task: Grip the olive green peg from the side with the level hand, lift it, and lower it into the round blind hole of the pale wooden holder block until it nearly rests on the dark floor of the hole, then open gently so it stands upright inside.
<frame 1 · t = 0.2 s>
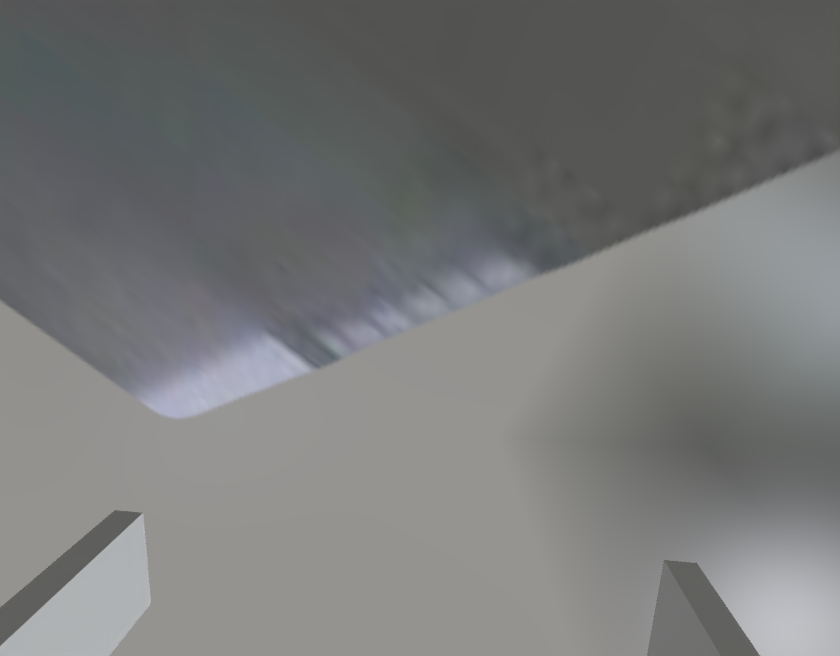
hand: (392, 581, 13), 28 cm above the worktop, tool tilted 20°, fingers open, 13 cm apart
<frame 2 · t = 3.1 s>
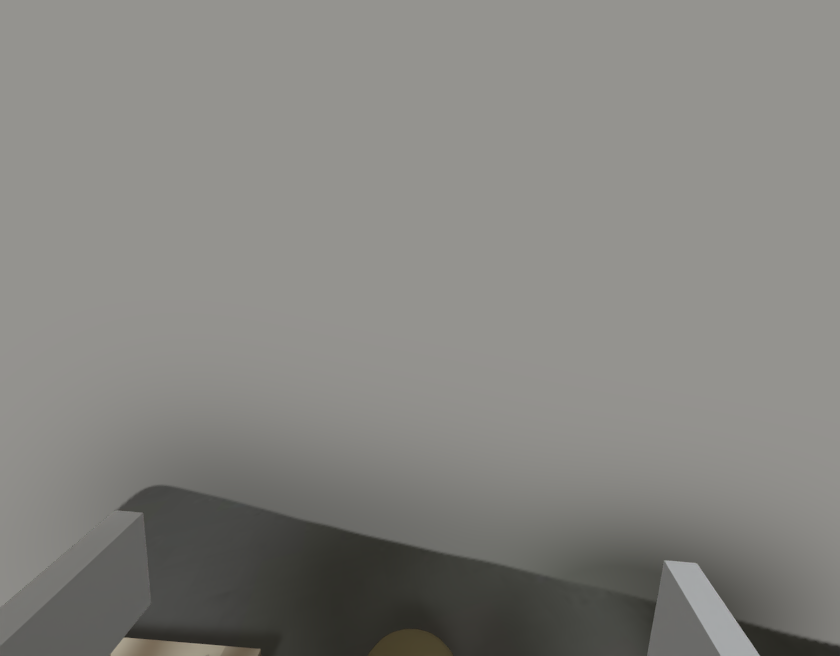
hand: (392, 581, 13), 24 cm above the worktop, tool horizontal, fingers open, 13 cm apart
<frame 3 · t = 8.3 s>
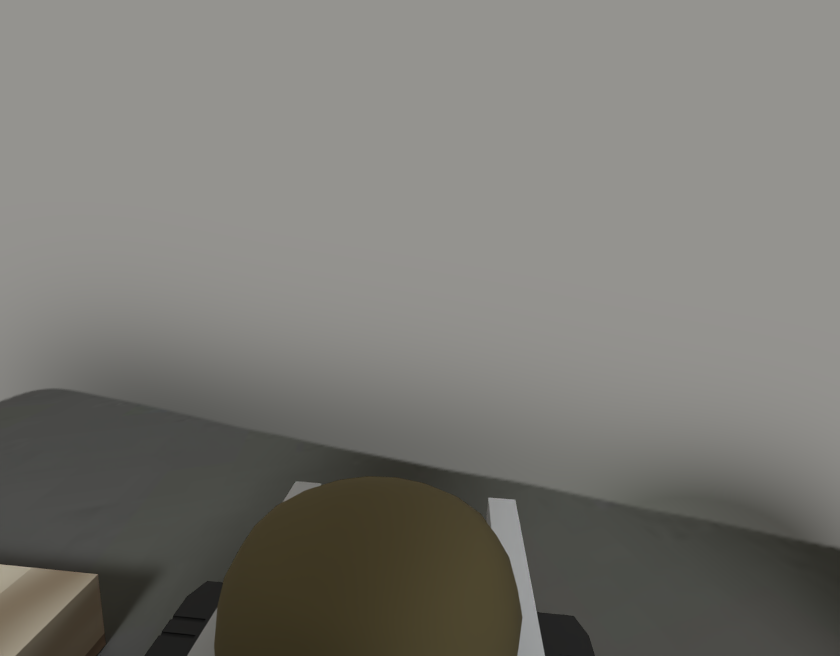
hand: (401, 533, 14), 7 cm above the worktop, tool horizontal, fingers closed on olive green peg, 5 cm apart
when the fingers open (8 cm above the worktop, at t = 14.9 s): olive green peg moves 1 cm, resting on holder block.
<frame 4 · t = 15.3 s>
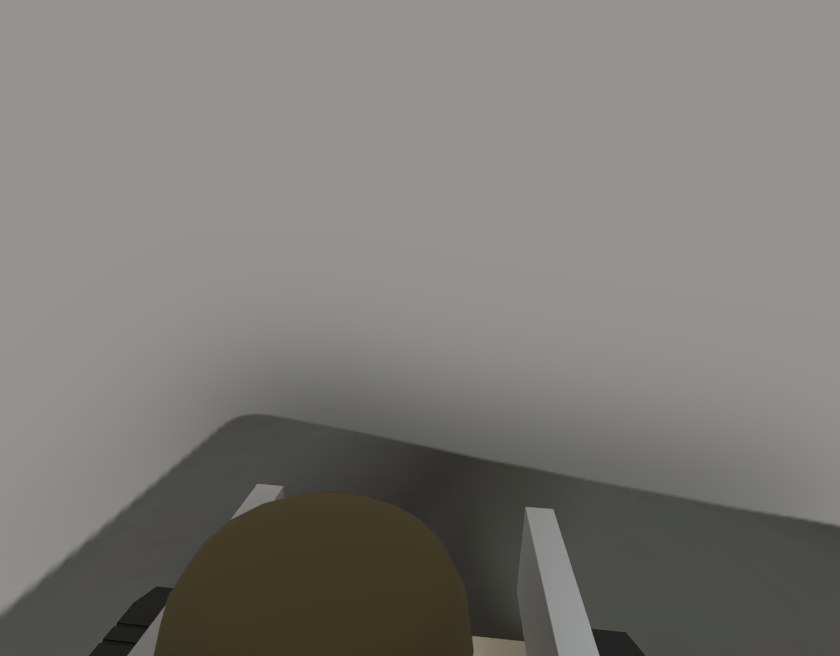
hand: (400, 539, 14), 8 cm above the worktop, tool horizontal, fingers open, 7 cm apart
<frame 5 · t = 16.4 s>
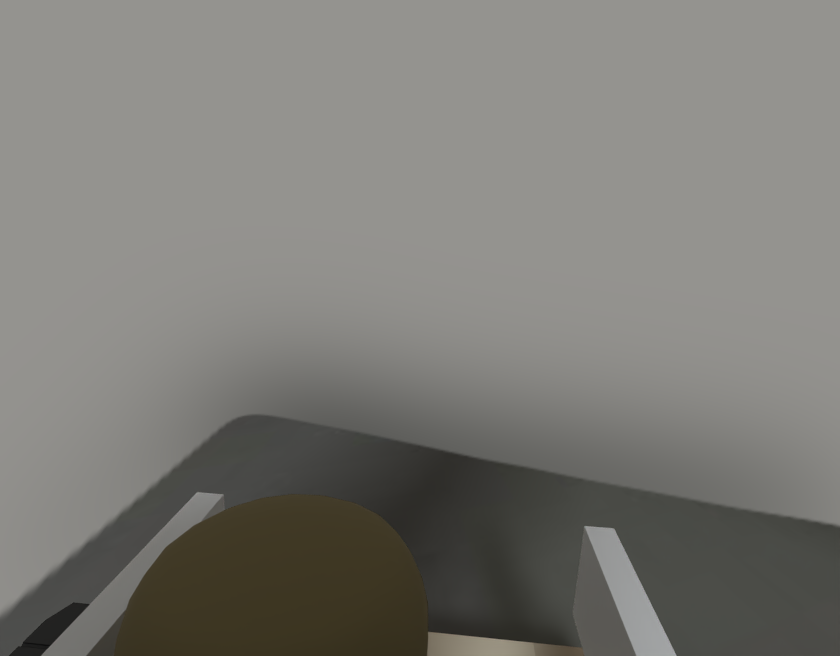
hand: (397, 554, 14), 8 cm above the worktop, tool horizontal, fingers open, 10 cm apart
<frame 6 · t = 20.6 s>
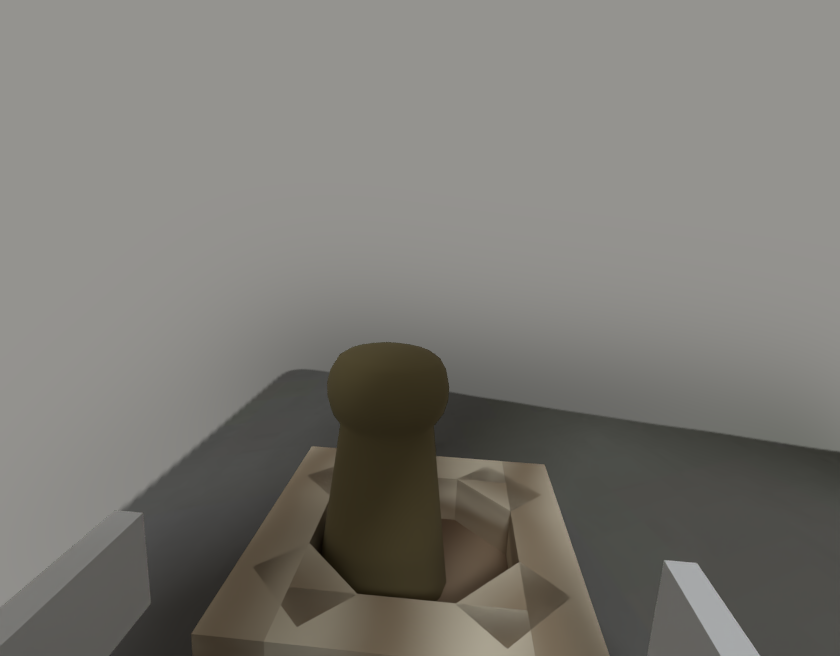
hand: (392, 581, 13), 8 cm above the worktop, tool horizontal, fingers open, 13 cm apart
olive green peg: (382, 576, 24), resting on holder block
holder block: (413, 581, 24), on the worktop
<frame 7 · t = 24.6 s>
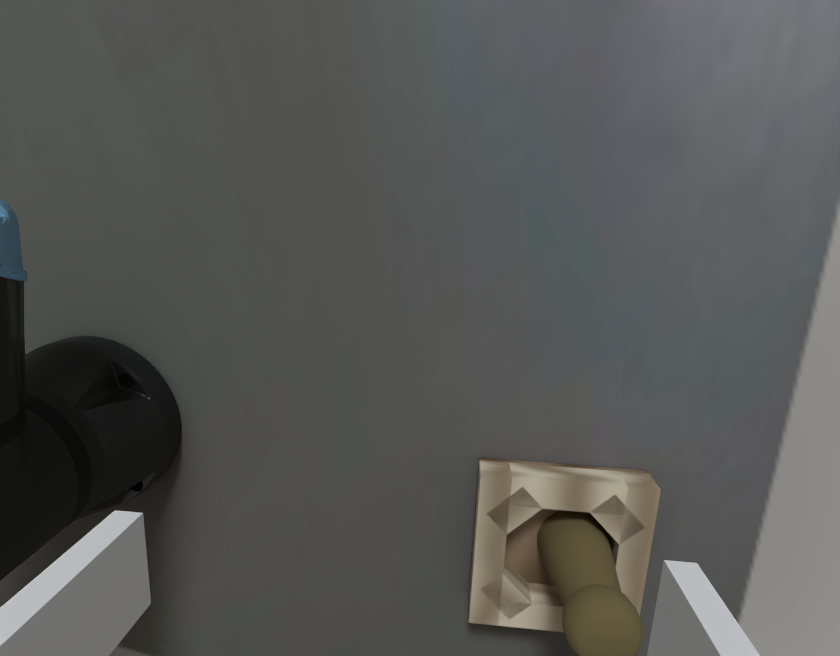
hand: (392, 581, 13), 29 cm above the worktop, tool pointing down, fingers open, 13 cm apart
olive green peg: (571, 538, 43), resting on holder block
holder block: (553, 536, 44), on the worktop
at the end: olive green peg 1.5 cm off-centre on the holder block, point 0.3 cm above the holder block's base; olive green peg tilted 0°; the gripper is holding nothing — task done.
